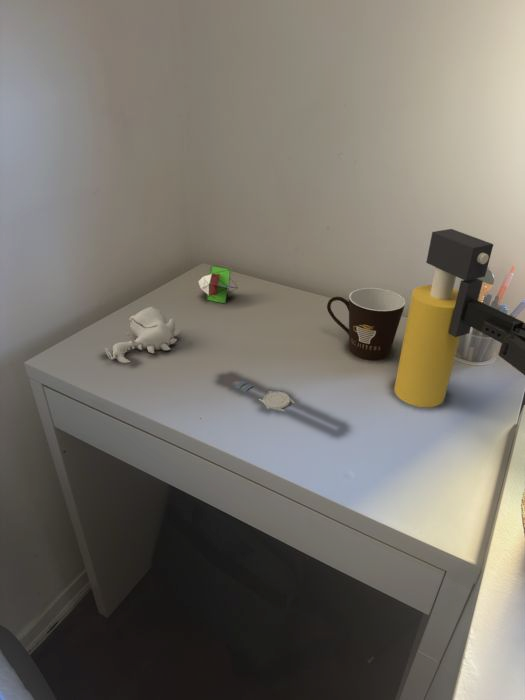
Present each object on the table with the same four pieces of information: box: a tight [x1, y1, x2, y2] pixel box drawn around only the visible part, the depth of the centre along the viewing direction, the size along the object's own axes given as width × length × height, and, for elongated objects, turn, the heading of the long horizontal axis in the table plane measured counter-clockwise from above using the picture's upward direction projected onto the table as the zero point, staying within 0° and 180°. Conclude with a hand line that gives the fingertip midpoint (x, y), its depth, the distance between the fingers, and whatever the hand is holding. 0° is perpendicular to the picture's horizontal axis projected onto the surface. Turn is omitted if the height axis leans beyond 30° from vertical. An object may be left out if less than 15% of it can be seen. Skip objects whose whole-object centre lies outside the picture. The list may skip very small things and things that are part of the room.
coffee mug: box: [326, 287, 406, 362], centre depth 81 cm, size 12×9×10 cm
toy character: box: [104, 306, 181, 364], centre depth 80 cm, size 6×9×12 cm
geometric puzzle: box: [197, 265, 239, 305], centre depth 98 cm, size 7×7×8 cm
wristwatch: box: [234, 380, 296, 412], centre depth 69 cm, size 4×20×1 cm, turn 53°
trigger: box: [449, 278, 484, 337], centre depth 61 cm, size 2×1×7 cm, turn 117°
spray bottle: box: [393, 228, 494, 408], centre depth 65 cm, size 7×9×24 cm
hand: (469, 311), depth 60 cm, fingers closed
